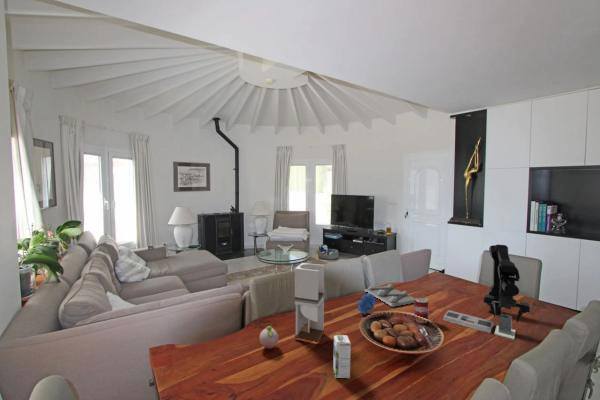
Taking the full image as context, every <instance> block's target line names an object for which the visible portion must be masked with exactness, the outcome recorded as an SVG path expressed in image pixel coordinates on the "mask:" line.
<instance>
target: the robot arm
mask: <svg viewBox="0 0 600 400" xmlns="http://www.w3.org/2000/svg"><path fill="white" fill-rule="evenodd" d="M488 249H489V251H488V252H489V254H490V257H491V258H492V260H493V261H492V264H493V266H492V267H493V268H492V285H490V287H489V290H488V292H487V294H485V295H484V297H483V303H485V304H486V305H487V306H489V309H488V311H487V312H488V313H490V314H492V315H493V317H494V318H495V317H496V315H497V316H499V315H500V313H501V314H504V312H503V310H502V309H506V310H511V309H512V308H518V311H517V316H516V319H515V320H516V324H517V323H518V322H519V320H520V318H521V316H522V315H523V314H526V313H531V312H530V311H531V305H530V303H529V302H525V301H520V302H519V303H518V302H517V299H514V297H515V296H518V295H519V293H520V288H519V287H518V286H517V284H516V282H520V272H519V269H518V268H517V266H516V264H515V262H513V261H511V258H510V256H509V247H508V246H507V245H506V244H498V243H497V244H495V245H493V244H492V245H490V246H489V248H488Z"/></svg>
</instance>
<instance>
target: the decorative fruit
mask: <svg viewBox="0 0 600 400" xmlns="http://www.w3.org/2000/svg"><path fill="white" fill-rule="evenodd" d="M259 342H260V345H262V346H263V347H264V348H265V349H269V350H270V349H273V348H274V347H276V346H277V344H278V343H279V334H278V332H277V331H276V330H275V329H274V328H273V326H271V325H268V326H266V327H265V328H264V329H262V331H260V333H259Z"/></svg>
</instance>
